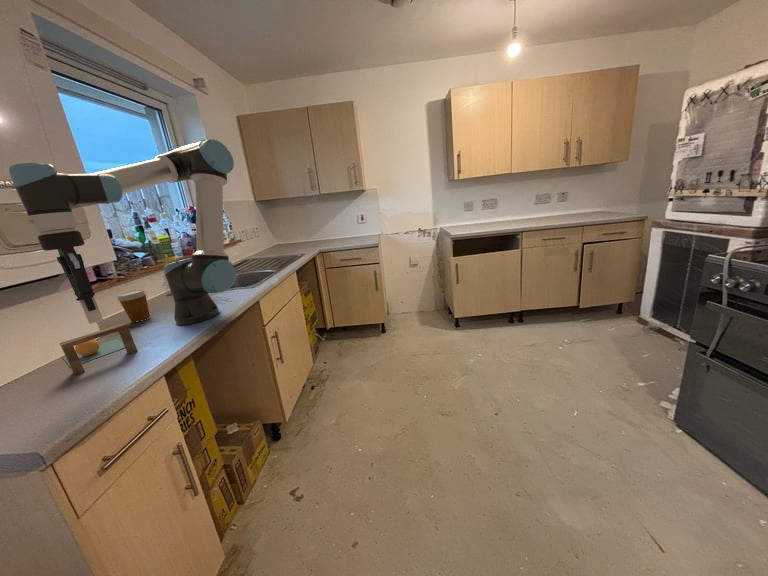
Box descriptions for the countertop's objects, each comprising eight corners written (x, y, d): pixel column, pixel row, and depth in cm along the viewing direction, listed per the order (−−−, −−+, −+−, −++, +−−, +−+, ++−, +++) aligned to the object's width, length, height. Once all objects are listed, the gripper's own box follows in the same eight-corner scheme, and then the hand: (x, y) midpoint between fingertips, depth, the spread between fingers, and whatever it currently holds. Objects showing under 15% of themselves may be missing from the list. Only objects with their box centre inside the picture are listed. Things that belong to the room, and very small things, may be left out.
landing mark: (116, 339, 110) (116, 338, 110) (128, 346, 101) (128, 346, 101) (62, 357, 99) (62, 357, 99) (70, 367, 91) (70, 367, 91)
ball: (98, 336, 98) (105, 352, 99) (91, 334, 101) (98, 349, 102) (75, 345, 93) (83, 360, 95) (69, 341, 96) (76, 357, 98)
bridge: (73, 372, 87) (59, 343, 85) (134, 349, 98) (124, 322, 96) (75, 375, 86) (61, 345, 83) (137, 351, 96) (127, 324, 94)
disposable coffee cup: (139, 324, 124) (128, 295, 120) (120, 325, 126) (109, 297, 122) (160, 315, 132) (150, 288, 129) (142, 316, 135) (132, 289, 131)
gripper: (33, 235, 76) (72, 323, 83) (39, 233, 68) (82, 331, 75) (74, 230, 82) (107, 313, 89) (84, 228, 74) (120, 319, 81)
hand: (96, 321), depth 82 cm, fingers closed
